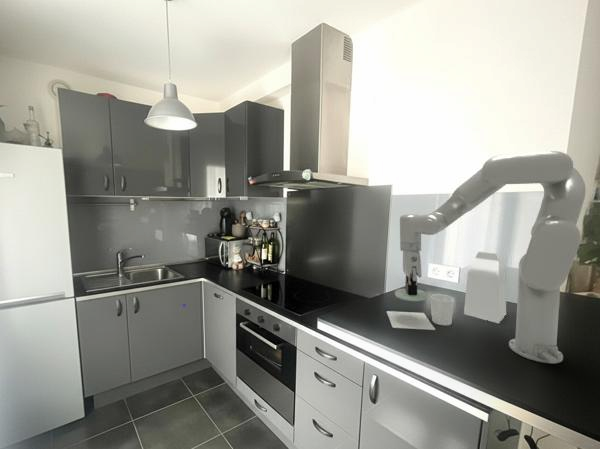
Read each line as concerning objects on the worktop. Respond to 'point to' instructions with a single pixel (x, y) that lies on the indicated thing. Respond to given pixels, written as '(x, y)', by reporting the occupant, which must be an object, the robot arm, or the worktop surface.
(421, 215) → the robot arm
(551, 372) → the worktop surface
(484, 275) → the milk
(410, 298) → the lid
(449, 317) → the white cup
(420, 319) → the mat
